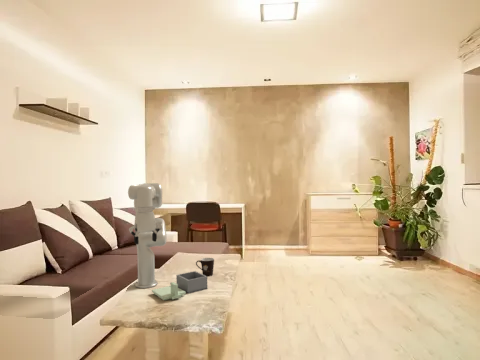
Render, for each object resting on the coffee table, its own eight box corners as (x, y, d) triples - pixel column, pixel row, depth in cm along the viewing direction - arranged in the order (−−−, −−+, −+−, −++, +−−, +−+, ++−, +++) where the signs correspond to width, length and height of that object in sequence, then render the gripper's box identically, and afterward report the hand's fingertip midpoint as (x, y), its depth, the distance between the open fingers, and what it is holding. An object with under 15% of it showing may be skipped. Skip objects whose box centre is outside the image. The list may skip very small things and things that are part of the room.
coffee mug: (217, 274, 211) (217, 259, 211) (207, 277, 204) (206, 261, 204) (205, 271, 219) (205, 256, 219) (195, 274, 212) (194, 258, 212)
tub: (176, 287, 187) (176, 274, 187) (195, 282, 194) (195, 271, 194) (188, 293, 176) (187, 280, 176) (207, 288, 183) (207, 276, 183)
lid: (152, 294, 176) (151, 279, 176) (173, 289, 184) (173, 275, 184) (165, 303, 163) (164, 287, 163) (187, 297, 170) (187, 282, 170)
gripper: (157, 208, 180) (157, 239, 181) (125, 210, 169) (126, 243, 169) (163, 209, 174) (164, 241, 175) (131, 212, 163) (132, 246, 164)
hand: (145, 242), depth 172 cm, fingers open, 9 cm apart
